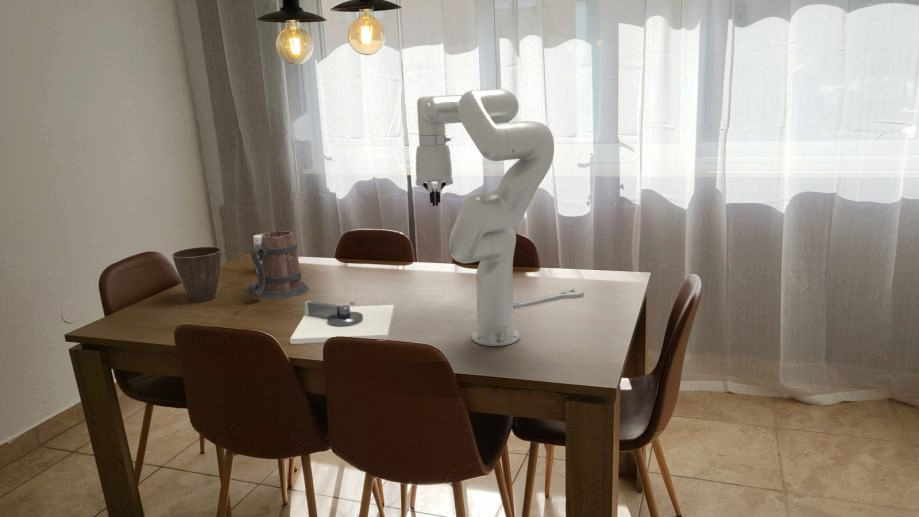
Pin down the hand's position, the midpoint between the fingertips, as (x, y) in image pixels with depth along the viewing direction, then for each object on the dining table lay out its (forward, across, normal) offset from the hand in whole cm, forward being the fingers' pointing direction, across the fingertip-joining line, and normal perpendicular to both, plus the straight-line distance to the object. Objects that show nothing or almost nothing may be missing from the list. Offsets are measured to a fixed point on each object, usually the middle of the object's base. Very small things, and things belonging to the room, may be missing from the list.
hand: (435, 205), depth 203 cm
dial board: (+32, +27, +8) cm, 43 cm away
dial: (+30, +31, +8) cm, 44 cm away
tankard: (+32, +55, -25) cm, 69 cm away
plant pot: (+32, +79, -23) cm, 88 cm away
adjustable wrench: (+33, -33, -6) cm, 47 cm away
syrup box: (+32, +65, -53) cm, 90 cm away
